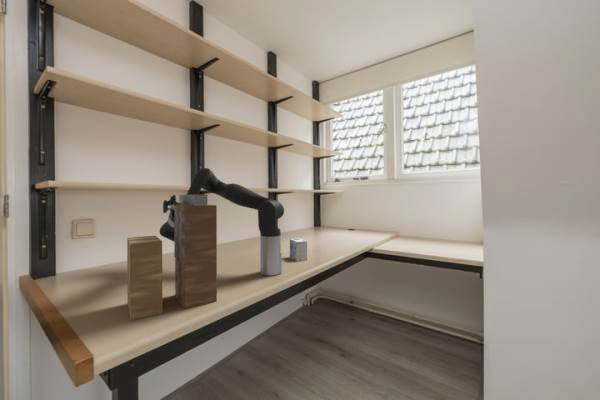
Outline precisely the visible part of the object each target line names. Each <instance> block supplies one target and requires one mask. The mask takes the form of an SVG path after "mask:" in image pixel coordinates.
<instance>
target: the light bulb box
mask: <svg viewBox="0 0 600 400" xmlns="http://www.w3.org/2000/svg"><path fill="white" fill-rule="evenodd" d="M289 258H290V259H292V258H293V259H292V260H294V259H295V260H304V261H308V240H306V239H303V238H300V237H299V238H297V237H296V238H290V239H289ZM295 260H294V261H295Z"/></svg>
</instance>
